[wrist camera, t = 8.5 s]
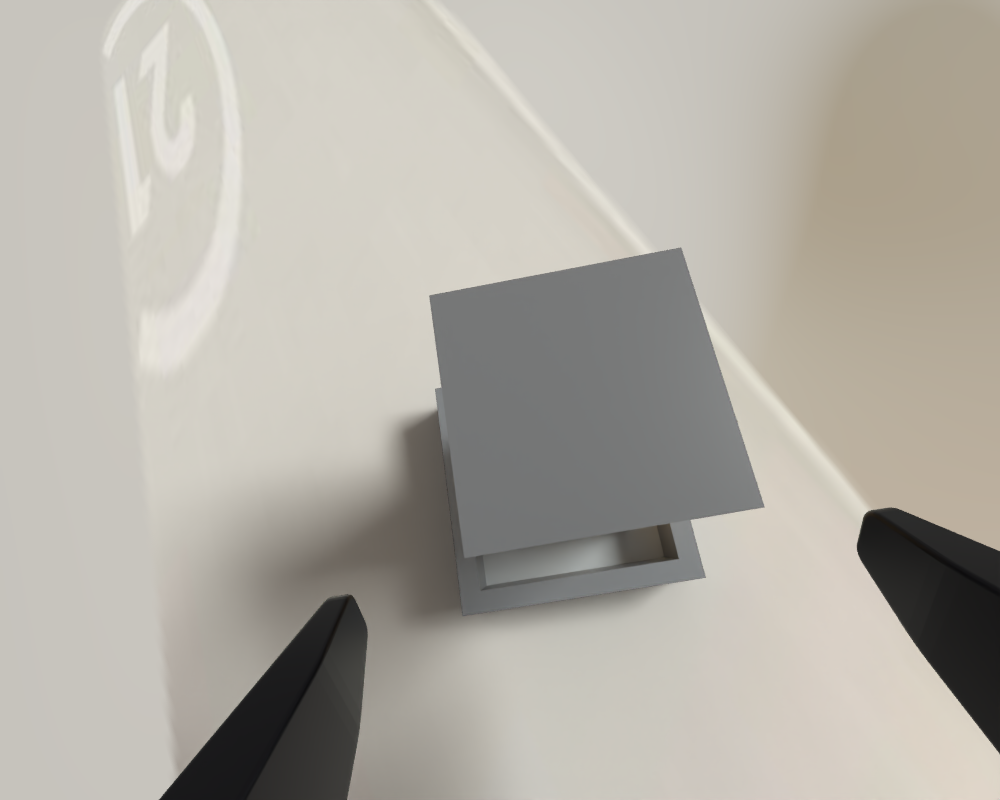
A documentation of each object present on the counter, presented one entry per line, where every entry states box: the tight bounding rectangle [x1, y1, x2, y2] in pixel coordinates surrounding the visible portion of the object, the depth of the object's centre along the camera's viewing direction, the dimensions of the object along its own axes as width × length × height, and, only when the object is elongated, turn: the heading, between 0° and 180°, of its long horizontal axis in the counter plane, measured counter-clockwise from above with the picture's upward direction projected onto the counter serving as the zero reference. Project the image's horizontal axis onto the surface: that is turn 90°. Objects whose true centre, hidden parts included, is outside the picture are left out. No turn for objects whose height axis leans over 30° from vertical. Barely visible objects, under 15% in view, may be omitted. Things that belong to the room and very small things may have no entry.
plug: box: [429, 248, 764, 558], centre depth 13 cm, size 4×4×12 cm
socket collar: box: [435, 388, 706, 616], centre depth 18 cm, size 8×8×2 cm
